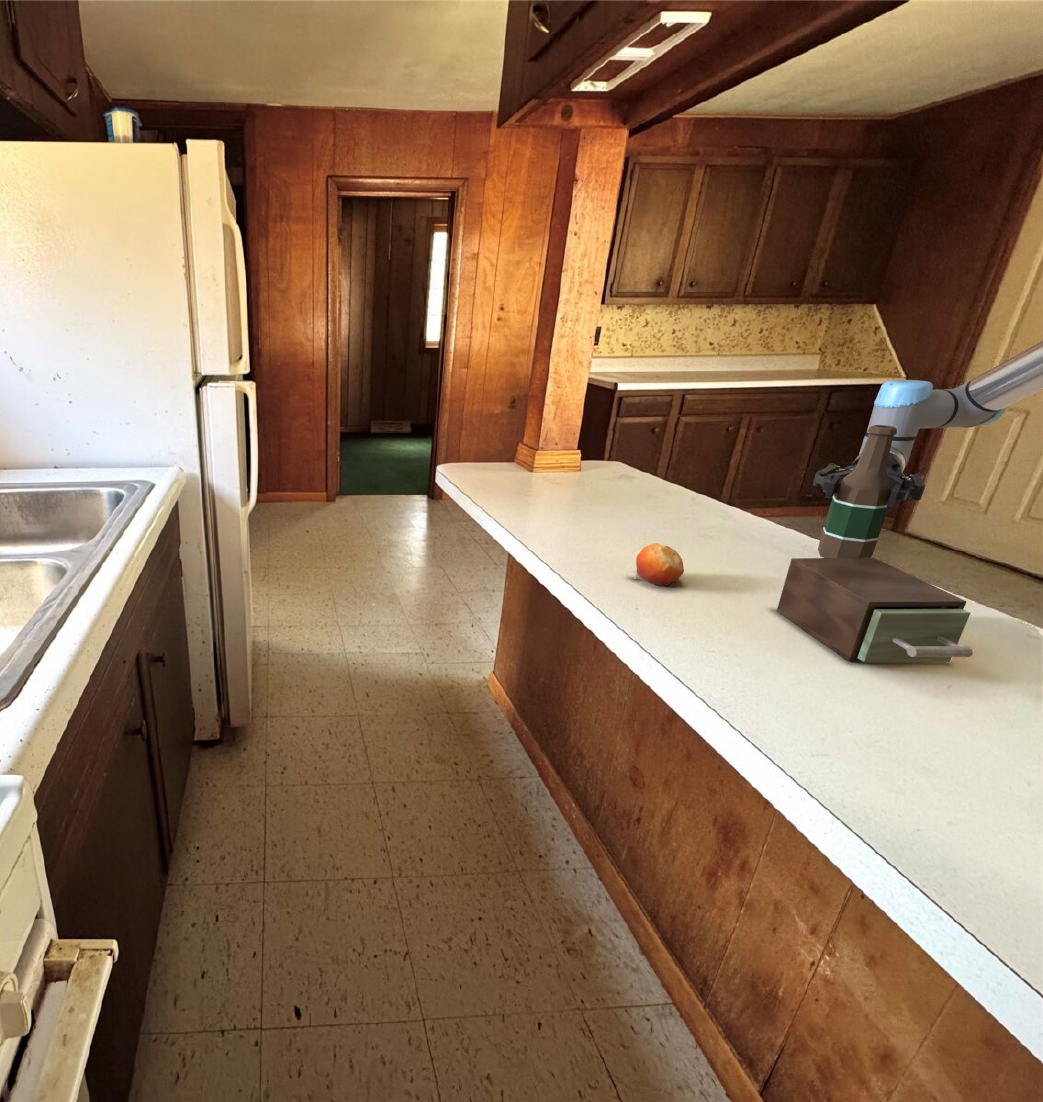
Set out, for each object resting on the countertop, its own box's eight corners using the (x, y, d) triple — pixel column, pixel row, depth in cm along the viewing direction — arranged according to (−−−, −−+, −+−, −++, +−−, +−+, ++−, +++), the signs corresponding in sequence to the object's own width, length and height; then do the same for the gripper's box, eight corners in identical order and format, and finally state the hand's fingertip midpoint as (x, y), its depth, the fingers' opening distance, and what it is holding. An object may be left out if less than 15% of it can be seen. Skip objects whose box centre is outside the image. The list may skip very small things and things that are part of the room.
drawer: (979, 679, 80) (1002, 628, 77) (888, 679, 81) (908, 628, 78) (866, 613, 97) (882, 569, 94) (792, 613, 98) (805, 570, 95)
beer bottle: (831, 564, 108) (873, 430, 99) (806, 548, 115) (843, 422, 106) (881, 566, 107) (928, 430, 98) (852, 549, 114) (893, 421, 105)
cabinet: (941, 661, 86) (967, 601, 82) (848, 661, 87) (869, 602, 83) (855, 610, 100) (873, 557, 97) (776, 611, 101) (791, 558, 97)
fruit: (632, 559, 119) (661, 531, 114) (666, 588, 116) (698, 560, 111) (616, 572, 114) (646, 543, 109) (651, 602, 111) (684, 574, 106)
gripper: (942, 497, 112) (935, 528, 98) (806, 479, 126) (781, 504, 112) (957, 457, 110) (952, 483, 95) (816, 443, 123) (792, 464, 109)
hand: (860, 495), depth 103 cm, fingers closed on beer bottle, 7 cm apart
